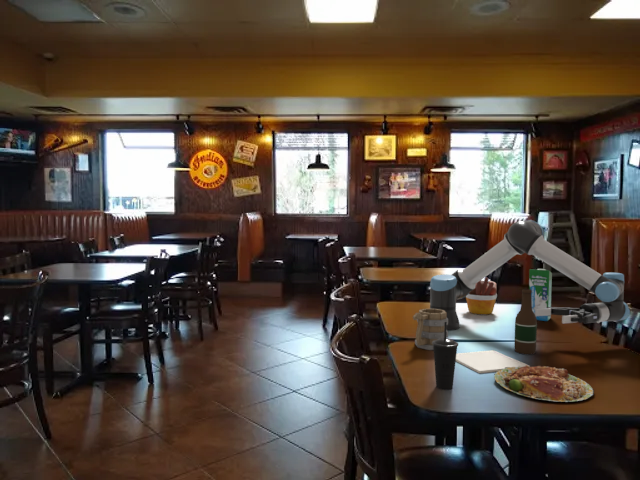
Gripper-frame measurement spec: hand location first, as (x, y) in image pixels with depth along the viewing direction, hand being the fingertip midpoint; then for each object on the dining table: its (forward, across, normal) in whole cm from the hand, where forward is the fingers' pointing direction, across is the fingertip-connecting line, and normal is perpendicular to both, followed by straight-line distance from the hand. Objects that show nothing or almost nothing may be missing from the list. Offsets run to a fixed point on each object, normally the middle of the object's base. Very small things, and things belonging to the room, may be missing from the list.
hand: (549, 316), depth 195 cm
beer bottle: (+11, 0, -13) cm, 17 cm away
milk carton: (-37, +48, -13) cm, 62 cm away
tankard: (+44, +16, -13) cm, 48 cm away
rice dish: (+32, -33, -14) cm, 48 cm away
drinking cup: (+61, -25, -13) cm, 67 cm away
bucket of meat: (-17, +68, -13) cm, 72 cm away
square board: (+33, -7, -13) cm, 36 cm away
